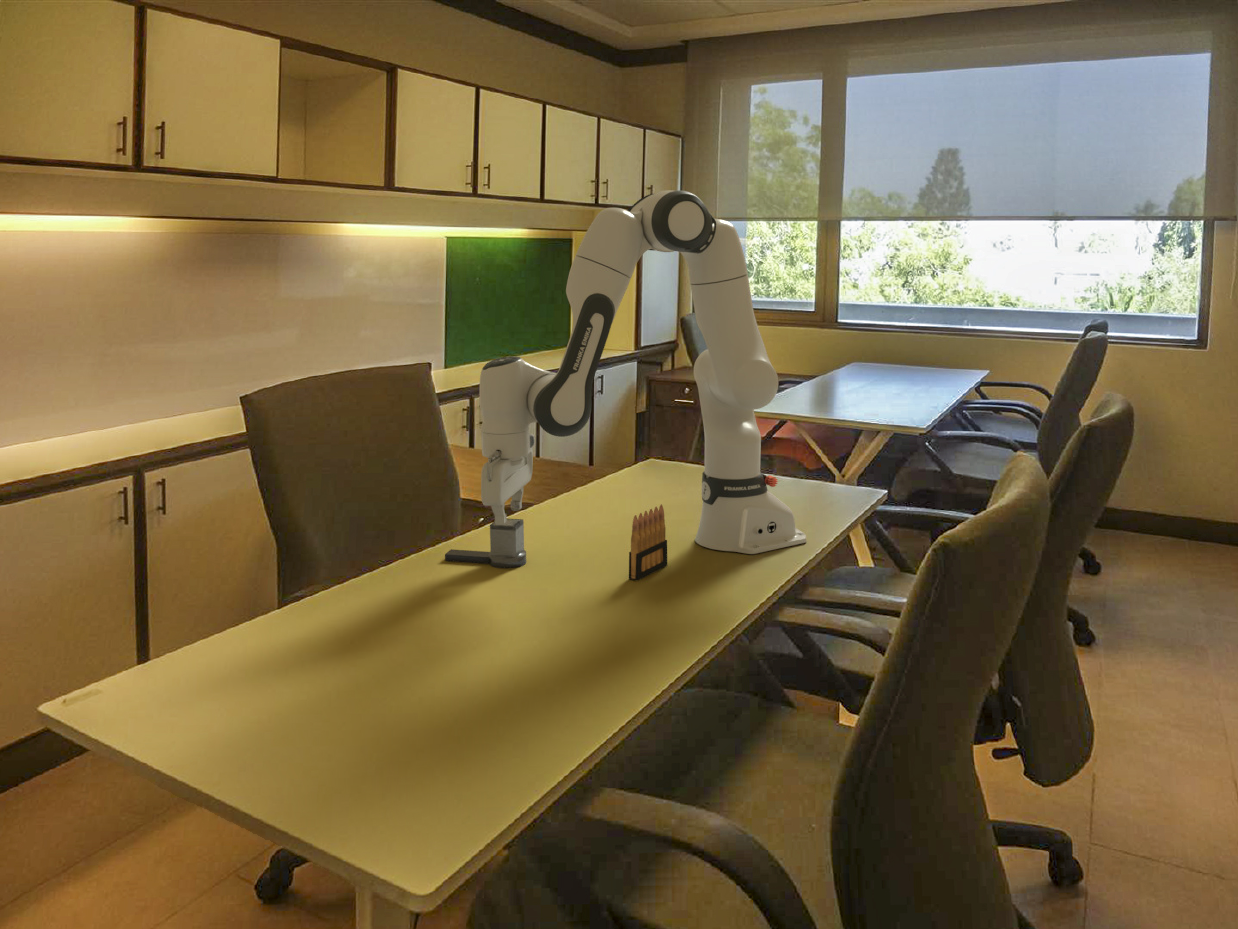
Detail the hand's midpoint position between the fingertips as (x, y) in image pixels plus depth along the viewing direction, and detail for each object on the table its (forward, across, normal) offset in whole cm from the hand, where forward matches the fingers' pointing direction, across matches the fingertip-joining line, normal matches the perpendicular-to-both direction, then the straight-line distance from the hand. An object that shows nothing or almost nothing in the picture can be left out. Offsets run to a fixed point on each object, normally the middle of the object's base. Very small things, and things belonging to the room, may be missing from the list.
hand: (508, 516), depth 202 cm
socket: (+7, 0, 0) cm, 7 cm away
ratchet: (+9, 0, +5) cm, 10 cm away
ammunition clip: (+10, 0, -27) cm, 28 cm away
